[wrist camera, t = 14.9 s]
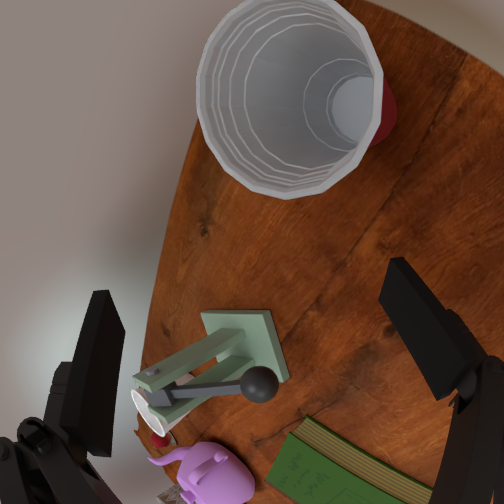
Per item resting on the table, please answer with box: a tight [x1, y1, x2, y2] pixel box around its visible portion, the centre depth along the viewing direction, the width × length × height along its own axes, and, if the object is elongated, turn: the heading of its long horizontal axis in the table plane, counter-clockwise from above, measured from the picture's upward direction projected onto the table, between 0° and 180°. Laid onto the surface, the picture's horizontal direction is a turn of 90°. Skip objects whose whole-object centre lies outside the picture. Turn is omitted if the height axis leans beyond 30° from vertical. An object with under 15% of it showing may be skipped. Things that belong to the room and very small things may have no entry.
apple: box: [151, 431, 176, 449], centre depth 76 cm, size 8×8×6 cm
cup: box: [131, 373, 195, 437], centre depth 50 cm, size 10×10×11 cm
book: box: [265, 415, 433, 504], centre depth 31 cm, size 25×19×4 cm
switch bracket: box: [132, 310, 290, 424], centre depth 34 cm, size 12×9×15 cm
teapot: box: [147, 442, 255, 504], centre depth 52 cm, size 22×22×14 cm
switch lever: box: [144, 366, 279, 406], centre depth 29 cm, size 14×4×4 cm, turn 113°
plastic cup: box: [196, 0, 397, 200], centre depth 17 cm, size 11×11×12 cm
